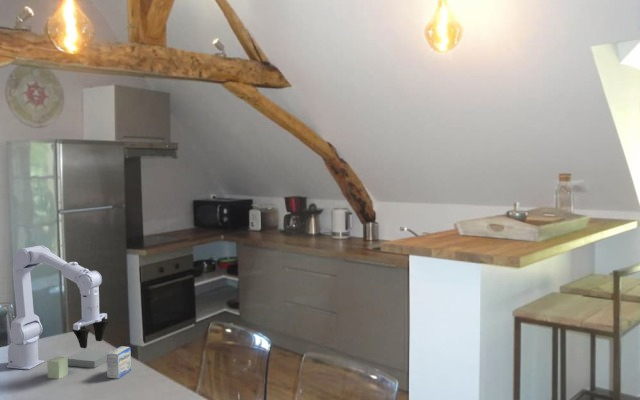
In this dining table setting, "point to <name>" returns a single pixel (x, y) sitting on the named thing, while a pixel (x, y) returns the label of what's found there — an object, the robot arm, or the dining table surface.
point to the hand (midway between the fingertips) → (91, 344)
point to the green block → (57, 367)
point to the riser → (88, 358)
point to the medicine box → (118, 362)
